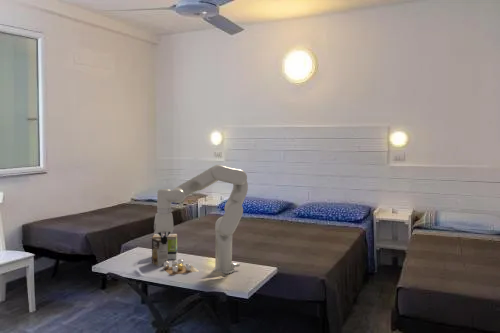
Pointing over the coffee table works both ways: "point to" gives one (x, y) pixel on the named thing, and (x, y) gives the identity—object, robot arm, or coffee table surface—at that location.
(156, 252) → the coffee box
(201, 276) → the coffee table surface
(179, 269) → the brass domed cylinder
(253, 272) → the coffee table surface
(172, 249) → the tea box
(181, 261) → the spacers
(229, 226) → the robot arm
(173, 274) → the board
